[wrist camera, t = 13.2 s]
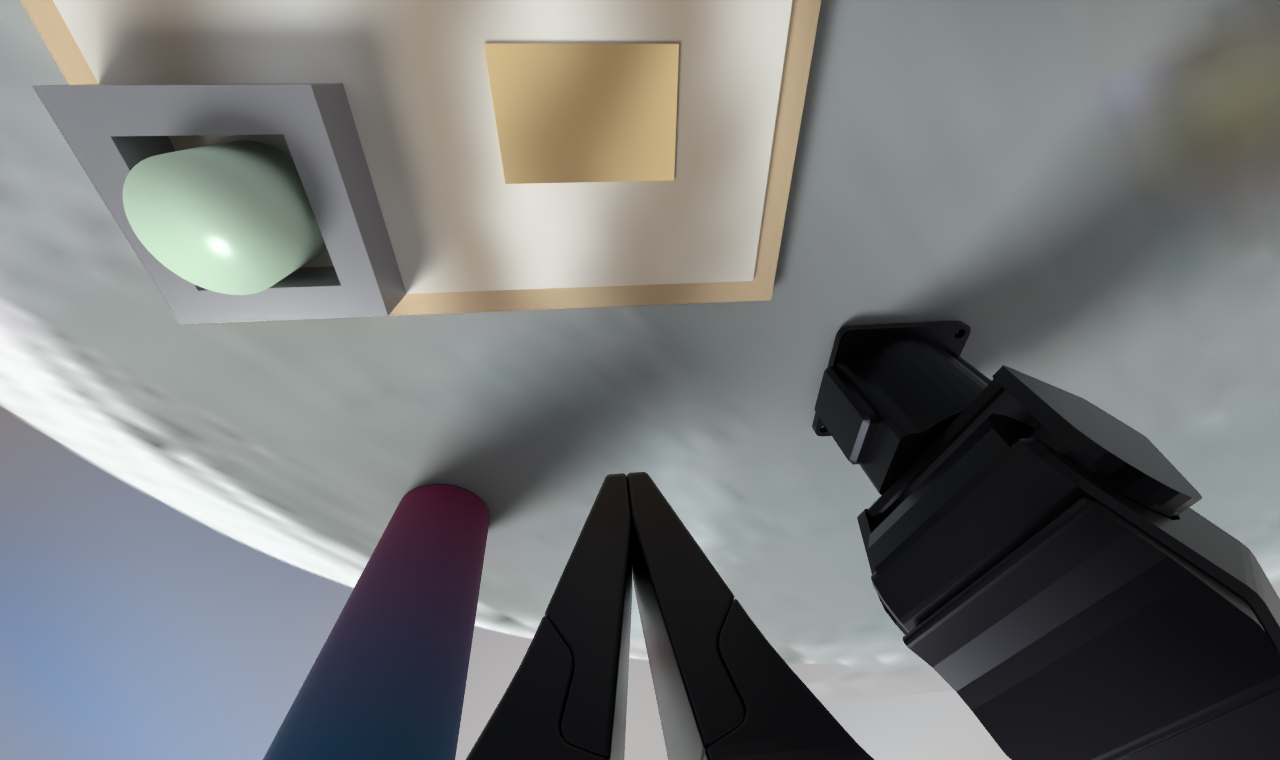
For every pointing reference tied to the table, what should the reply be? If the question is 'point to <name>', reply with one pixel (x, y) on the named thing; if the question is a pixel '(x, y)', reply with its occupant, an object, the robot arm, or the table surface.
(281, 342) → the table surface
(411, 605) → the cup
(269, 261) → the button
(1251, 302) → the table surface
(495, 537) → the table surface
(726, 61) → the beige flat board
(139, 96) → the button housing
